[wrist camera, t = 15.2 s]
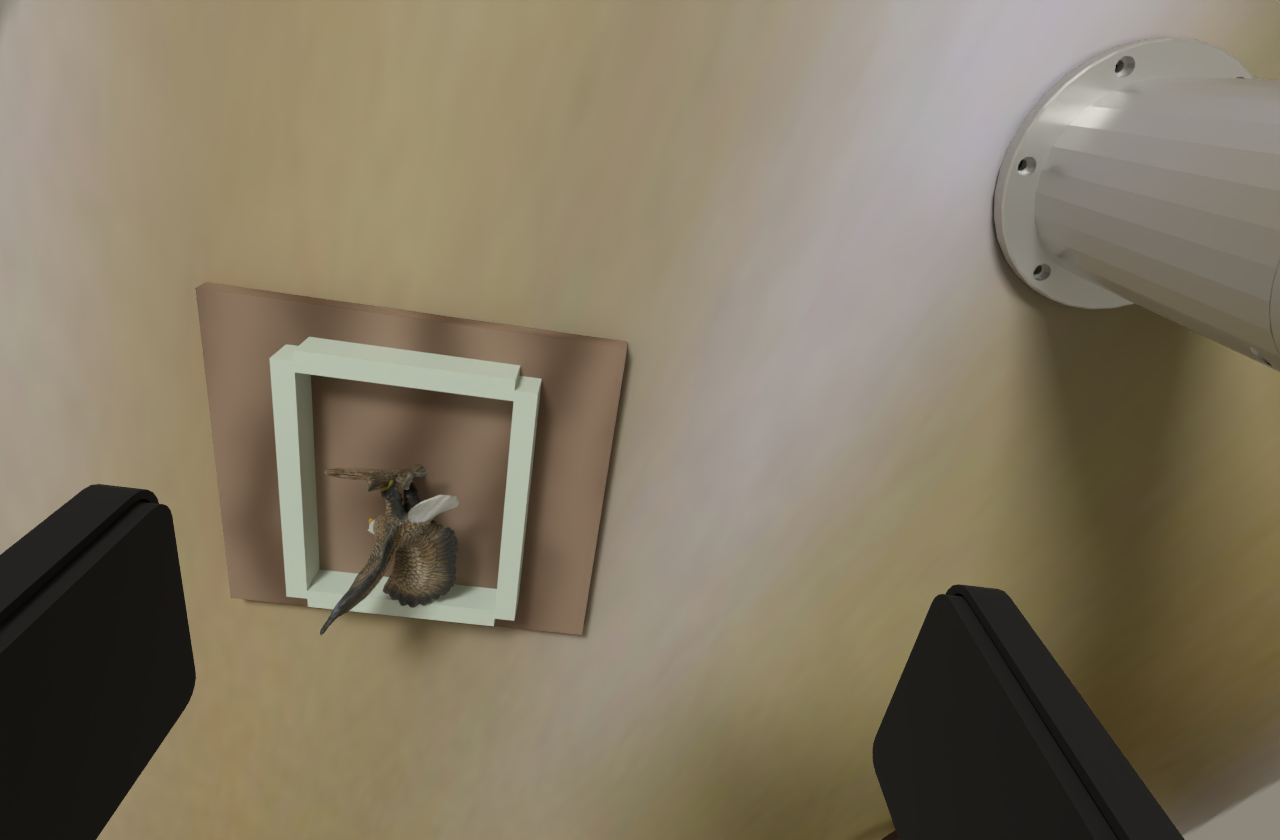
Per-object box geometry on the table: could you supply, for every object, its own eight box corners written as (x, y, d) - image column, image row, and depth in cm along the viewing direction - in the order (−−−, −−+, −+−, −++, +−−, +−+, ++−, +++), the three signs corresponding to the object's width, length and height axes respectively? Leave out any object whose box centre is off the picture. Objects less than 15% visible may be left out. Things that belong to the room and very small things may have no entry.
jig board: (627, 341, 40) (627, 362, 37) (582, 624, 48) (580, 657, 45) (205, 282, 38) (173, 299, 35) (238, 587, 46) (214, 620, 44)
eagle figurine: (309, 459, 40) (301, 621, 40) (338, 475, 34) (329, 664, 34) (444, 460, 44) (437, 606, 45) (490, 473, 39) (481, 642, 39)
